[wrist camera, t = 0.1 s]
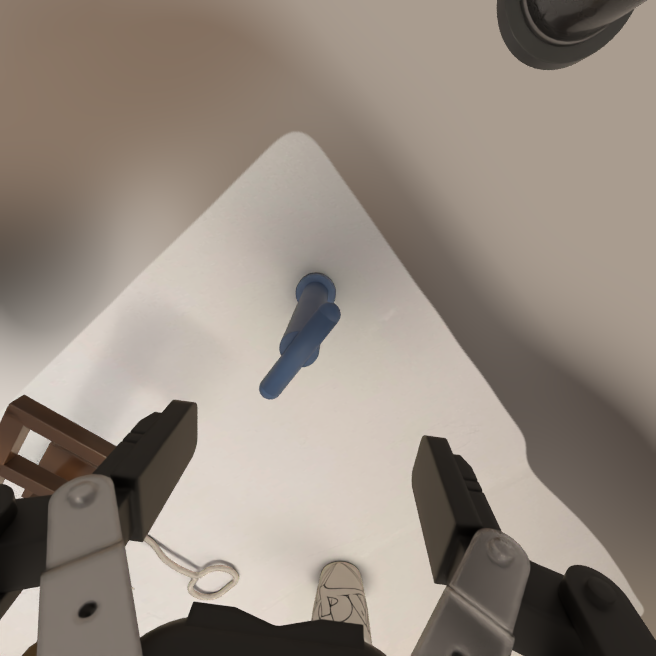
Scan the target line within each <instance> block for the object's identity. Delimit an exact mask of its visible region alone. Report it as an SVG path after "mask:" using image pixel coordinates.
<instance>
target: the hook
mask: <svg viewBox="0 0 656 656" xmlns="http://www.w3.org/2000/svg"><path fill="white" fill-rule="evenodd" d="M144 541H145V542H146V543H147V544H149V545H150V546H151V547H152V548H153V550H154V551H155V552H156V554H157V555H158V557H159V558H160V559H161V560H162V561H163V562H164V563H165V564H166V565H168V566H169V567H171V568H172V569H174V570H175V571H177V572H179V573H181V574H183V575H186V576H188V577H190V578H192V580H191V581H190V582H189V584H188V592H189V594H190V595H191V596H193V597H195V598H197V599H201V600H213V599H217V598H219V597H221V596H222V595H224V594H225V593H226V592H227V591H229V590H230V589H231V588H232V587H234V586H235V585H236V584H237V582H238V579H239V576H238V573H237V572H236V571H235V570H234V569H233V568H231V567H228V566H225V565H214V566H210V567H207V568H205V569H204V570H202V571H201V572H199V573H198V572H193V571H191V570H188V569H186V568H184V567H182V566H180V565H178V564H176V563H175V562H173V561H172V560H171V559H169V558H168V557H167V556H166V555H165V554H164V553H163V551H162V550H161V548H160V547H159V546H158V544H157V543H156V542H155V541H154V540H153V539H152V538H150V537H149V536H146V537H145V539H144ZM214 571H223V572H227V573H229V574H231V575H232V576H233V578H234V579H233V581H232V582H230V583H229V584H228V585H226V586H225V587H224V588H223V589H221V590H220V591H219V592H217V593H213V594H203V593H199V592H197V591H195V590H194V589H193V585H194V584H195V583H196V582H197V581H198V578H202V577H203V576H205V575H206V574H208V573H210V572H214ZM131 587H132V586H131ZM132 589H134V588H133V587H132Z"/></svg>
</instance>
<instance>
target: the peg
mask: <svg viewBox="0 0 656 656" xmlns="http://www.w3.org/2000/svg"><path fill="white" fill-rule="evenodd" d="M335 296H336V289H335V286H334V283H333V282H332V280H331V279H330V278H329V277H327V276H326V275H324V274H321V273H311V274H308V275H306V276H305V277H303V278H302V279H301V280H300V282H299V284H298V286H297V289H296V298H297V301H298V304H297V306H296V308H295V311H294V313H293V315H292V317H291V320H290V322H289V324H288V327H287V329H286V331H285V333H284V336H283V338H282V340H281V342H280V347H279V350H280V354H281V357H280V358H279V359H278V361H277V362H276V363H275V365H274V366H273V367H272V369H271V370H270V371H269V372H268V374H267V375H266V376H265V378H264V379H263V380H262V382H261V383H260V386H259V391H260V394H261V395H262V396H263V397H264V398H266V399H275V398H277V397H278V396H279V395H280V394H281V392H282V391H283V390H284V389H285V387H286V386H287V385H288V384H289V382H290V381H291V380H292V379H293V377H294V376H295V375H296V374H297V372H298V371H299V370H300V369H301V367H306V366H309V365H311V364H312V363H313V362H314V361H315V360H316V359H317V357H318V354H319V349H320V344H321V342H322V341H323V340H324V339H325V337H326V336H327V335H328V334H329V332H330V331H331V330H332V329H333V327H334V326H335V325H336V324H337V323H338V321H339V319H340V316H341V313H340V309H339V307H338V306H337V305H336V304H334V301H335Z"/></svg>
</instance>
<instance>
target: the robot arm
mask: <svg viewBox="0 0 656 656" xmlns="http://www.w3.org/2000/svg"><path fill="white" fill-rule="evenodd" d="M645 1H647V0H520V4H521V10H522V14H523V17H524V20H525V22H526V24H527V26H528V28H529V29H530V31H531V32H532V33H533V34H534V35H535V36H536V37H537V38H538V39H539V40H541V41H542V42H544V43H546V44H549V45H552V46H558V47H567V46H573V45H577V44H580V43H582V42H584V41H587V40H588V39H590V38H592V37H593V36H595V35H596V34H598V33H599V32H601V31H602V30H604V29H605V28H606V27H607V26H608V25H609V24H611V23H613V22H614V21H616V20H617V19H619V18H621V17H622V16H624V15H625V14H627V13H628V12H630V11H631V10H633V9H635V8H636V7H637V6H639V5H641V4H642V3H644V2H645ZM196 445H197V404H196V403H194V402H187V401H180V400H173V401H172V402H171V403H170V404H169V405H168V406H167V407H166V409H165V410H164V411H163V412H162V413H158V412H154V413H152V414H150V415H149V416H147V417H145V418H144V419H142V420H140V421H139V422H138V424H137V425H136V426H135V427H134V428H133V429H132V430H131V433H128V435H127V436H126V437H125V438H124V439H123V442H120V443H119V444H118V446H117V447H116V448H115V449H114V450H113V451H112V452H111V453H110V454H109V455H108V457H107V458H106V459H105V460H104V461H103V462H102V463H101V464H100V465H99V466H98V468H97V469H96V470H95V471H94V472H93V473H92V474H90V475H84V476H81V477H78V478H75V479H73V480H70V481H69V482H67V483H65V484H64V485H62V486H61V487H59V488H58V489H57V490H56V491H55V492H54V493H53V494H52V495H46V496H37V497H29V498H20V499H15V496H14V492H13V490H12V488H11V487H9V486H7V485H4V484H0V619H1V618H2V617H3V615H4V614H5V613H6V611H7V610H8V609H9V607H10V606H11V605H12V603H13V602H14V601H15V599H16V598H17V597H18V595H19V594H20V593H21V591H22V590H23V589H28V588H33V587H39V586H40V597H39V618H38V639H37V656H386V655H385V654H384V653H383V652H382V651H380V650H379V649H377V648H376V647H374V646H372V645H371V644H369V643H367V642H365V641H364V626H363V625H362V624H355V623H347V622H340V621H333V620H325V619H319V620H313V621H307V622H301V623H295V624H289V625H283V626H275V625H272V624H270V623H268V622H266V621H264V620H261V619H259V618H257V617H255V616H253V615H251V614H249V613H246V612H244V611H242V610H240V609H238V608H236V607H230V606H222V605H215V604H208V603H200V602H193V604H192V607H191V610H190V612H189V615H188V617H187V618H181V619H178V620H175V621H171V622H168V623H166V624H164V625H161V626H159V627H157V628H155V629H153V630H152V631H150V632H148V633H146V634H145V635H143V636H142V637H140V636H139V630H138V624H137V617H136V611H135V605H134V599H133V593H132V587H131V581H130V575H129V569H128V562H127V556H126V550H125V546H126V544H127V543H128V541H129V540H131V541H138V542H143V541H144V539H145V537H146V536H147V534H148V532H149V531H150V529H151V527H152V525H153V524H154V522H155V520H156V519H157V517H158V515H159V513H160V512H161V510H162V508H163V507H164V505H165V503H166V501H167V500H168V498H169V496H170V495H171V493H172V491H173V489H174V488H175V486H176V484H177V483H178V481H179V479H180V477H181V476H182V474H183V472H184V470H185V469H186V467H187V465H188V464H189V462H190V460H191V458H192V457H193V454H194V452H195V449H196ZM412 489H413V493H414V497H415V502H416V506H417V510H418V514H419V519H420V523H421V527H422V532H423V536H424V540H425V545H426V549H427V553H428V557H429V562H430V566H431V570H432V575H433V579H434V583H435V584H442V585H447V586H446V588H445V590H444V592H443V594H442V595H441V597H440V599H439V601H438V603H437V605H436V607H435V609H434V611H433V613H432V615H431V617H430V619H429V621H428V623H427V625H426V627H425V629H424V631H423V633H422V635H421V637H420V639H419V640H418V642H417V644H416V646H415V648H414V650H413V652H412V654H411V656H511V652H512V650H513V651H515V652H517V653H519V654H521V655H523V656H656V640H655V639H654V637H653V636H652V634H651V633H650V631H649V629H648V628H647V626H646V625H645V623H644V622H643V620H642V619H641V617H640V616H639V614H638V613H637V611H636V610H635V608H634V607H633V605H632V603H631V602H630V600H629V599H628V598H627V596H626V595H625V594H624V592H623V591H622V590H621V589H620V588H619V587H618V586H617V585H616V584H615V583H614V582H613V581H611V580H610V579H609V578H607V577H606V576H605V575H603V574H602V573H600V572H598V571H596V570H594V569H592V568H589V567H587V566H583V565H573V566H571V567H569V568H568V570H567V571H566V573H565V575H562V574H560V573H557V572H555V571H553V570H550V569H548V568H545V567H543V566H541V565H538V564H536V563H534V562H532V561H530V560H529V558H528V556H527V554H526V553H525V551H524V550H523V548H522V547H521V546H520V545H519V544H518V543H517V542H516V541H515V540H514V539H513V538H511V537H510V536H508V535H507V534H505V533H503V532H502V531H501V529H500V527H499V525H498V523H497V521H496V518H495V516H494V514H493V512H492V510H491V508H490V506H489V504H488V501H487V499H486V497H485V495H484V493H482V489H481V486H480V484H479V482H477V478H476V476H475V474H474V472H473V469H472V467H471V466H470V465H469V464H468V463H467V462H466V461H465V460H464V459H463V458H462V457H461V455H454V454H453V453H452V451H451V448H450V446H449V443H448V441H447V439H446V438H440V437H433V436H426V435H424V436H423V437H422V439H421V442H420V445H419V449H418V453H417V456H416V460H415V463H414V467H413V471H412Z"/></svg>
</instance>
